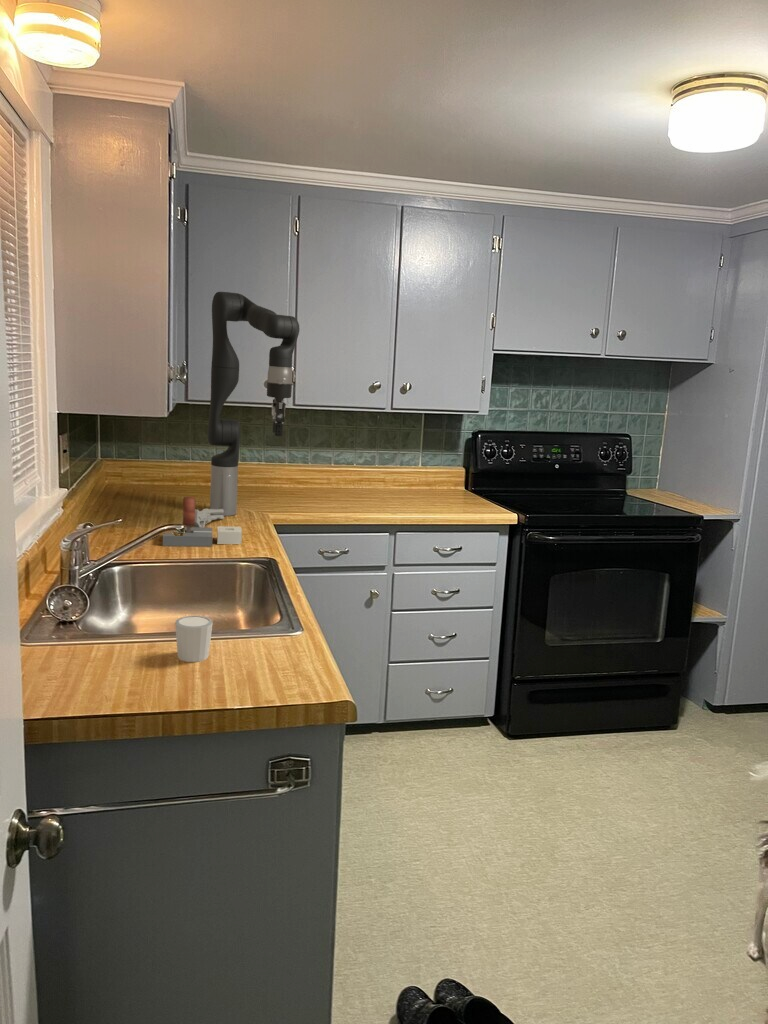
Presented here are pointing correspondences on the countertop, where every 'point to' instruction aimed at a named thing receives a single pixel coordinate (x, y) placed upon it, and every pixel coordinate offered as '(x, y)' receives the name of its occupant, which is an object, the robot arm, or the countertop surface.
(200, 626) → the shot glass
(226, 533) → the block
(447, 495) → the countertop surface
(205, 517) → the gun
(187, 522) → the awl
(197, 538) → the grey flat block
